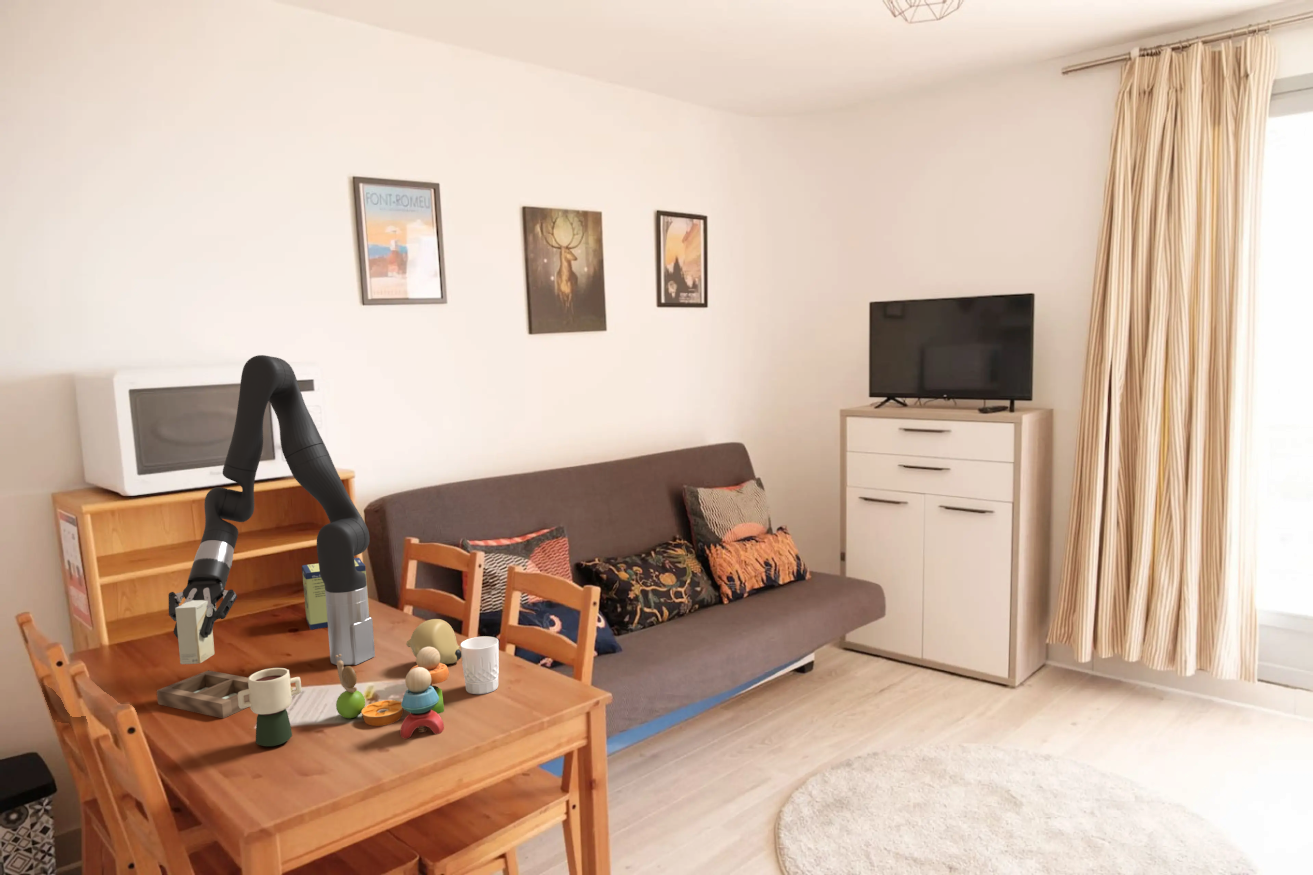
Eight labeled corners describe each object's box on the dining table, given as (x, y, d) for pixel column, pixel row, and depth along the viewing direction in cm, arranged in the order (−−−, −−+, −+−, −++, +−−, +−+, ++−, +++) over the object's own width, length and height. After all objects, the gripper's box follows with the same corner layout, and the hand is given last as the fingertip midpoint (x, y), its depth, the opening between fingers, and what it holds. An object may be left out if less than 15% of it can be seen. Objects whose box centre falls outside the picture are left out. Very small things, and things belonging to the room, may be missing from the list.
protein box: (305, 620, 234) (300, 564, 233) (364, 610, 241) (360, 556, 240) (309, 630, 225) (304, 572, 223) (370, 620, 232) (366, 564, 231)
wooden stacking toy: (360, 712, 171) (356, 651, 169) (448, 697, 177) (444, 638, 176) (364, 749, 154) (360, 682, 153) (461, 731, 160) (457, 666, 159)
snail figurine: (354, 707, 173) (350, 650, 172) (371, 715, 169) (367, 656, 167) (329, 717, 169) (324, 658, 167) (346, 725, 164) (341, 664, 163)
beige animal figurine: (445, 685, 192) (477, 647, 196) (408, 655, 187) (441, 616, 190) (430, 671, 201) (461, 635, 204) (394, 642, 195) (426, 605, 199)
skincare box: (200, 664, 178) (195, 607, 176) (179, 664, 178) (174, 608, 176) (215, 653, 184) (211, 598, 183) (194, 654, 184) (190, 599, 183)
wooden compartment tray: (273, 695, 181) (272, 682, 180) (223, 718, 170) (222, 703, 170) (209, 683, 189) (208, 670, 189) (158, 704, 178) (156, 690, 178)
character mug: (299, 727, 164) (294, 661, 163) (310, 739, 159) (305, 671, 157) (238, 744, 158) (232, 676, 156) (247, 758, 152) (241, 687, 151)
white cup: (464, 697, 176) (461, 650, 175) (462, 684, 183) (459, 638, 182) (502, 692, 178) (500, 645, 177) (499, 679, 185) (496, 634, 184)
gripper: (171, 558, 186) (148, 630, 175) (239, 555, 187) (220, 626, 176) (184, 575, 191) (162, 646, 181) (250, 572, 193) (232, 642, 182)
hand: (191, 636), depth 178 cm, fingers closed on skincare box, 4 cm apart
